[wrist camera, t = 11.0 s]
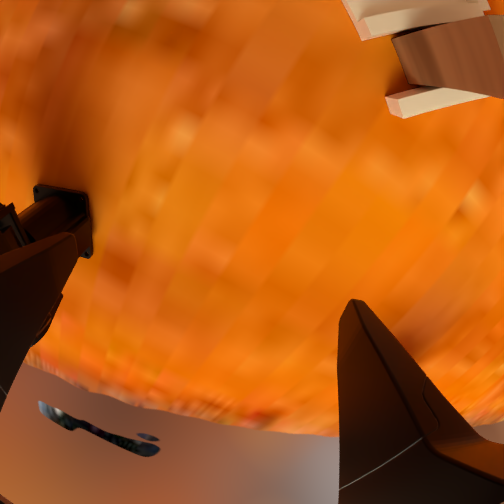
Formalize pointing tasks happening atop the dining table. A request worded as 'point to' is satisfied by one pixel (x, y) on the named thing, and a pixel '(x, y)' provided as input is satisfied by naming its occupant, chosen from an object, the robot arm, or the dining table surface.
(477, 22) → the brown long block
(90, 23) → the dining table surface
